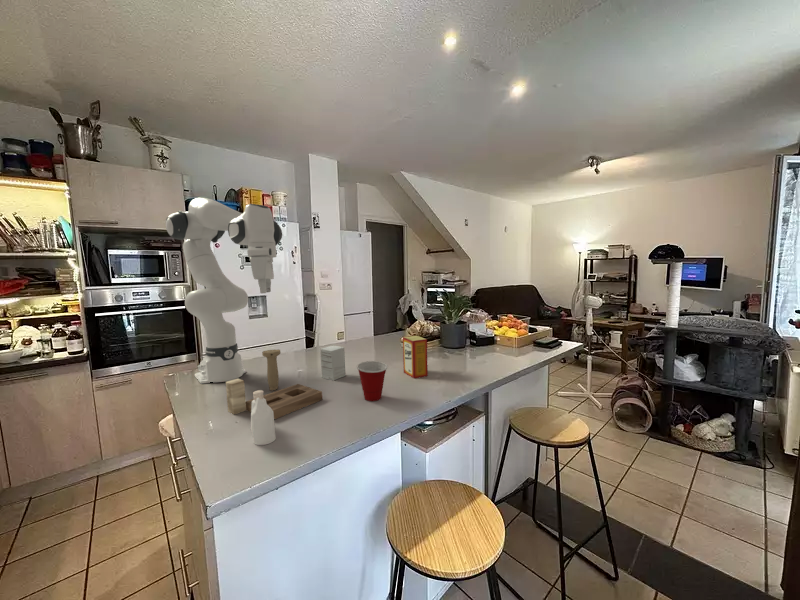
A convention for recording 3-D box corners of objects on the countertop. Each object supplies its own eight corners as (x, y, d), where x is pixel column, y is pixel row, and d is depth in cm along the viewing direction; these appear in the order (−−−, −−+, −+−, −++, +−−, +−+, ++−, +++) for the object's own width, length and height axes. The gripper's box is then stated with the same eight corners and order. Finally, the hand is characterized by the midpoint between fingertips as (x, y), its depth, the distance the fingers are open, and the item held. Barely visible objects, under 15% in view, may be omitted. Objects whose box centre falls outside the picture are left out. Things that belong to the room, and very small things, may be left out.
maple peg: (228, 411, 107) (225, 381, 106) (240, 407, 110) (238, 378, 109) (233, 414, 104) (231, 384, 103) (246, 410, 107) (244, 380, 106)
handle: (282, 390, 125) (280, 351, 124) (264, 392, 123) (262, 353, 121) (282, 386, 130) (280, 348, 128) (264, 388, 127) (262, 350, 126)
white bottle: (250, 434, 91) (247, 396, 90) (250, 426, 96) (248, 390, 95) (271, 430, 93) (268, 393, 92) (270, 422, 98) (268, 387, 97)
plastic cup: (372, 407, 107) (371, 371, 106) (351, 399, 114) (350, 365, 113) (395, 397, 115) (394, 364, 114) (374, 390, 122) (373, 358, 121)
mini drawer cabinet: (334, 373, 144) (332, 345, 143) (346, 376, 140) (344, 347, 139) (321, 377, 139) (319, 348, 137) (333, 381, 134) (331, 350, 133)
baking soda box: (403, 372, 143) (402, 336, 142) (416, 370, 146) (416, 334, 144) (413, 378, 135) (412, 340, 133) (427, 376, 137) (426, 338, 136)
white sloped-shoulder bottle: (277, 394, 88) (261, 402, 83) (280, 437, 89) (264, 447, 84) (261, 391, 91) (244, 399, 85) (263, 433, 92) (247, 443, 87)
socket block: (246, 410, 107) (245, 401, 107) (298, 391, 123) (297, 383, 123) (269, 421, 99) (269, 411, 99) (322, 399, 115) (322, 391, 114)
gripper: (258, 255, 121) (261, 292, 122) (245, 250, 101) (250, 294, 102) (276, 254, 123) (279, 291, 124) (267, 249, 103) (271, 293, 104)
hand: (265, 292), depth 113 cm, fingers open, 8 cm apart
